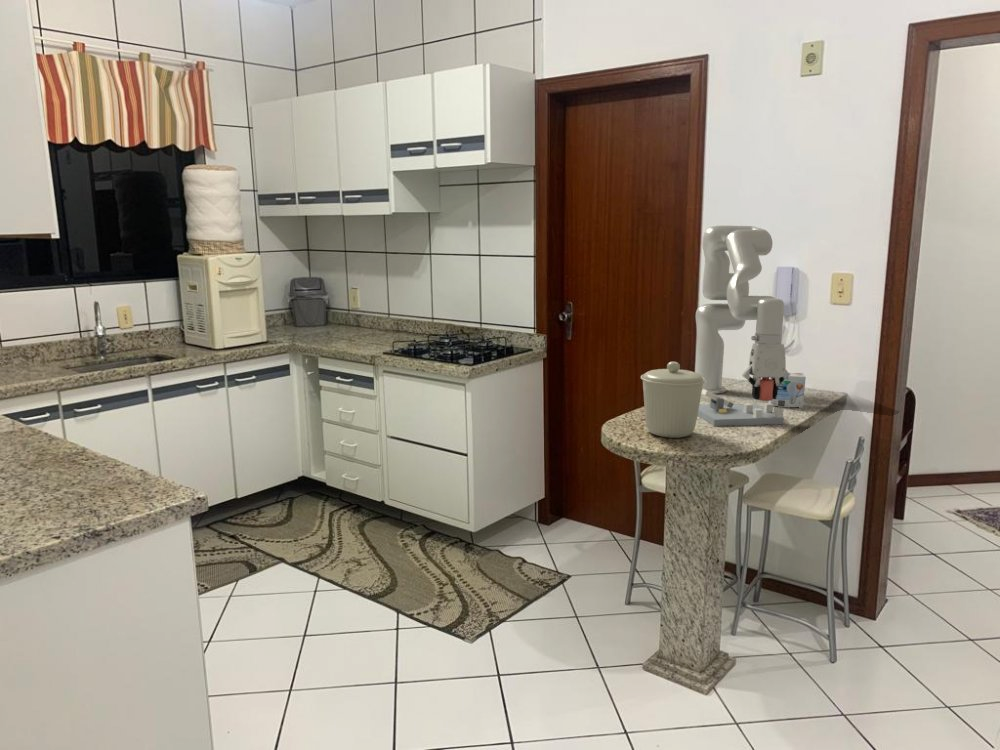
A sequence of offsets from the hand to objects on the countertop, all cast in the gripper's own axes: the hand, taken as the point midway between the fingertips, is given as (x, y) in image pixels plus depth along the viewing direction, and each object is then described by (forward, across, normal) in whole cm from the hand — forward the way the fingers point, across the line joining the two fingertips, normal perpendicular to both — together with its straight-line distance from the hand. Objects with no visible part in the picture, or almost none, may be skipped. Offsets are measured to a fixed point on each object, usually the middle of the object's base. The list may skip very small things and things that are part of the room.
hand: (764, 397), depth 235 cm
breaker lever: (+2, -12, +8) cm, 14 cm away
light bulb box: (+7, +18, +19) cm, 27 cm away
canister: (+8, -34, -11) cm, 36 cm away
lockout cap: (0, 0, 0) cm, 0 cm away
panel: (+7, -6, +5) cm, 11 cm away
